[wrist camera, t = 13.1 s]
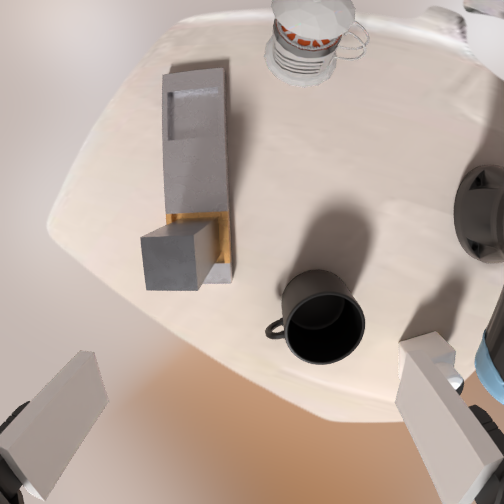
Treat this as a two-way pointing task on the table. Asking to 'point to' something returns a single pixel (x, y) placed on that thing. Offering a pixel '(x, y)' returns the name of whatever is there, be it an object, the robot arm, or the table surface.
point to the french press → (309, 39)
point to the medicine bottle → (433, 356)
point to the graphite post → (180, 254)
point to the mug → (319, 318)
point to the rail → (197, 155)
